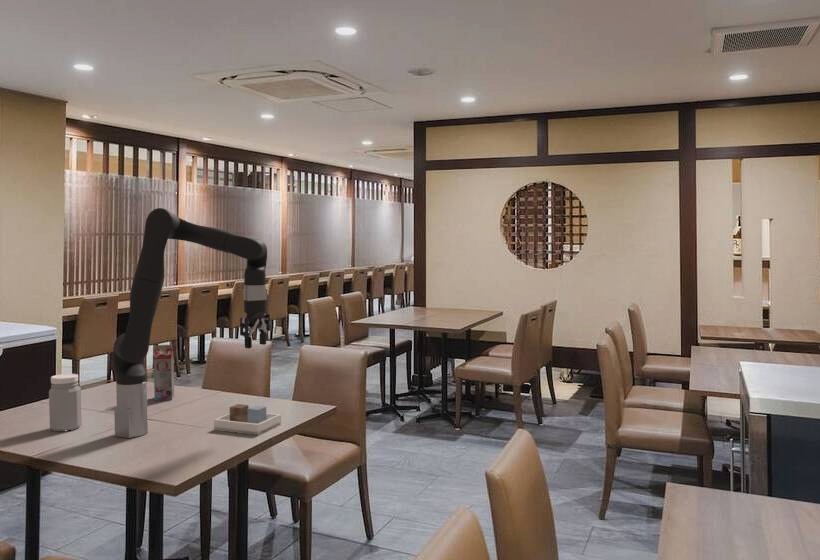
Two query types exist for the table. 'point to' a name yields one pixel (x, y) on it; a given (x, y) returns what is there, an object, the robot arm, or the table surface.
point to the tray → (247, 424)
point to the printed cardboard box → (163, 373)
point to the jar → (65, 402)
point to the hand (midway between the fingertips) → (255, 346)
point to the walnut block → (239, 413)
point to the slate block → (256, 414)
